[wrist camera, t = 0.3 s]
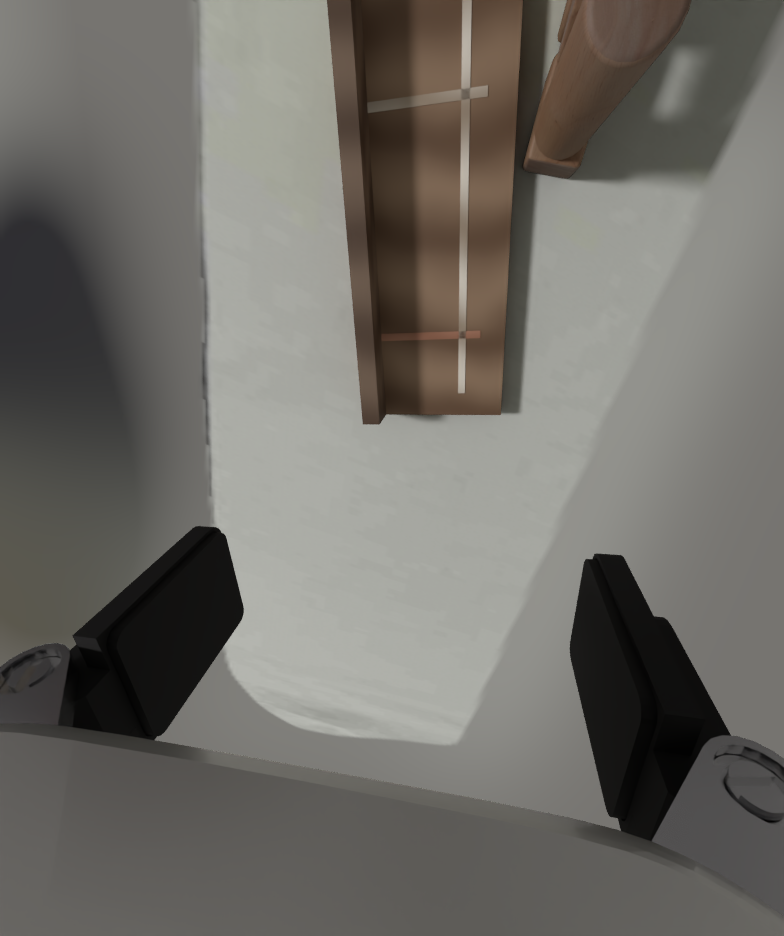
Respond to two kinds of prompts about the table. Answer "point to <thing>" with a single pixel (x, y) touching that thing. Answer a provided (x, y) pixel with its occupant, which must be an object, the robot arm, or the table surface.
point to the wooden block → (595, 73)
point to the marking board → (427, 196)
